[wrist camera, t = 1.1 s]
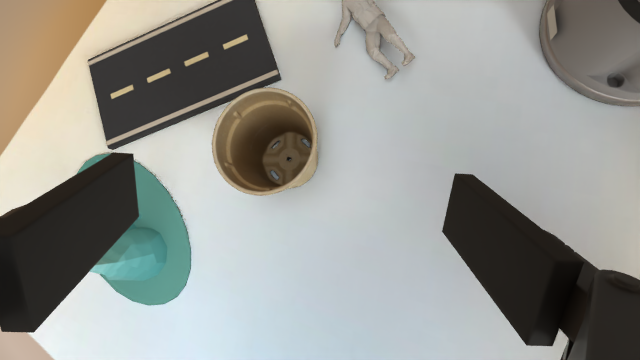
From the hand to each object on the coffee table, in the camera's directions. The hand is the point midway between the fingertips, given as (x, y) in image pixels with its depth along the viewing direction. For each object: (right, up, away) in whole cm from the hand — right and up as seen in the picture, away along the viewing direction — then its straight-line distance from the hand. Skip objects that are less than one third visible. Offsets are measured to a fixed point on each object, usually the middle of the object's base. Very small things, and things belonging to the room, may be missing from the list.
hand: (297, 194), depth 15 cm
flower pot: (-2, +3, +25) cm, 25 cm away
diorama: (-21, -5, +27) cm, 35 cm away
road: (-15, +14, +29) cm, 35 cm away
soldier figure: (+7, +17, +25) cm, 31 cm away
